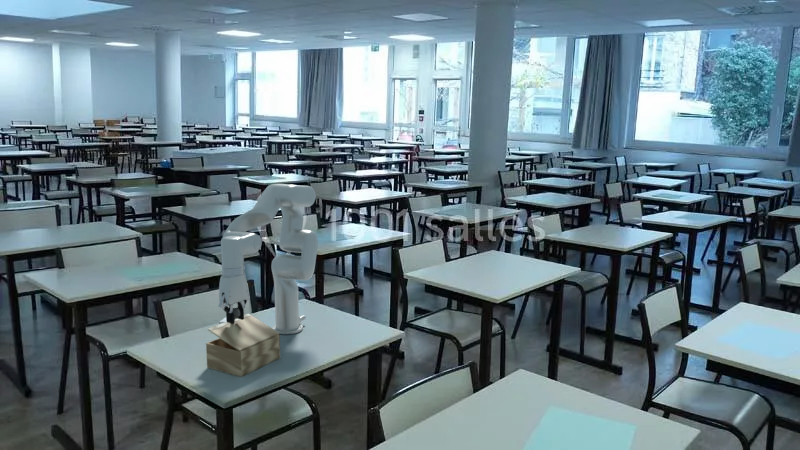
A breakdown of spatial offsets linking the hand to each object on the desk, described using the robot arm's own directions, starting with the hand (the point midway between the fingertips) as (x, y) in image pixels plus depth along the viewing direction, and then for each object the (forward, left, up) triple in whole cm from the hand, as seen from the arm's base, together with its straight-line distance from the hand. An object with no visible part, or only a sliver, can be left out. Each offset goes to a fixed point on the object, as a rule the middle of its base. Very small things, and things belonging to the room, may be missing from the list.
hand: (235, 320), depth 225 cm
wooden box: (0, +4, -15) cm, 16 cm away
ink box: (-8, -11, -15) cm, 21 cm away
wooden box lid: (0, +4, -4) cm, 5 cm away
